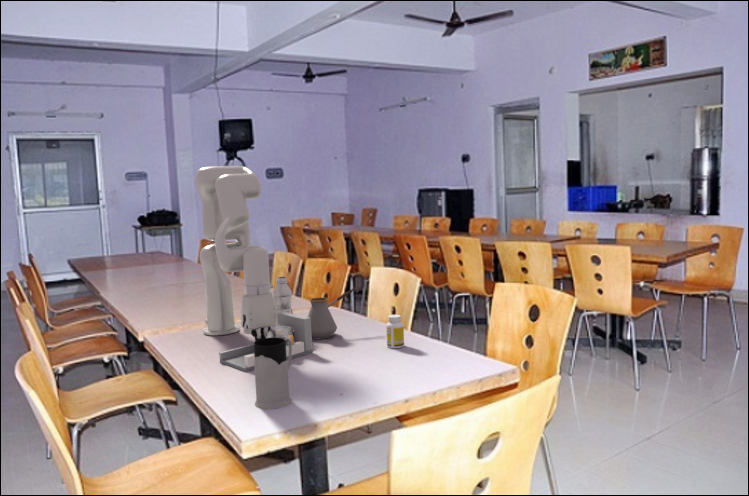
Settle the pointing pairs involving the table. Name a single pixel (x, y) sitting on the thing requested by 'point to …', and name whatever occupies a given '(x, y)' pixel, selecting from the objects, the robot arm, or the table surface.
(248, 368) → the track
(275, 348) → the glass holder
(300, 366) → the table surface
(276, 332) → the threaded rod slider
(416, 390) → the table surface
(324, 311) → the coffee pot
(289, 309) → the plastic bottle
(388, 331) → the supplement bottle
